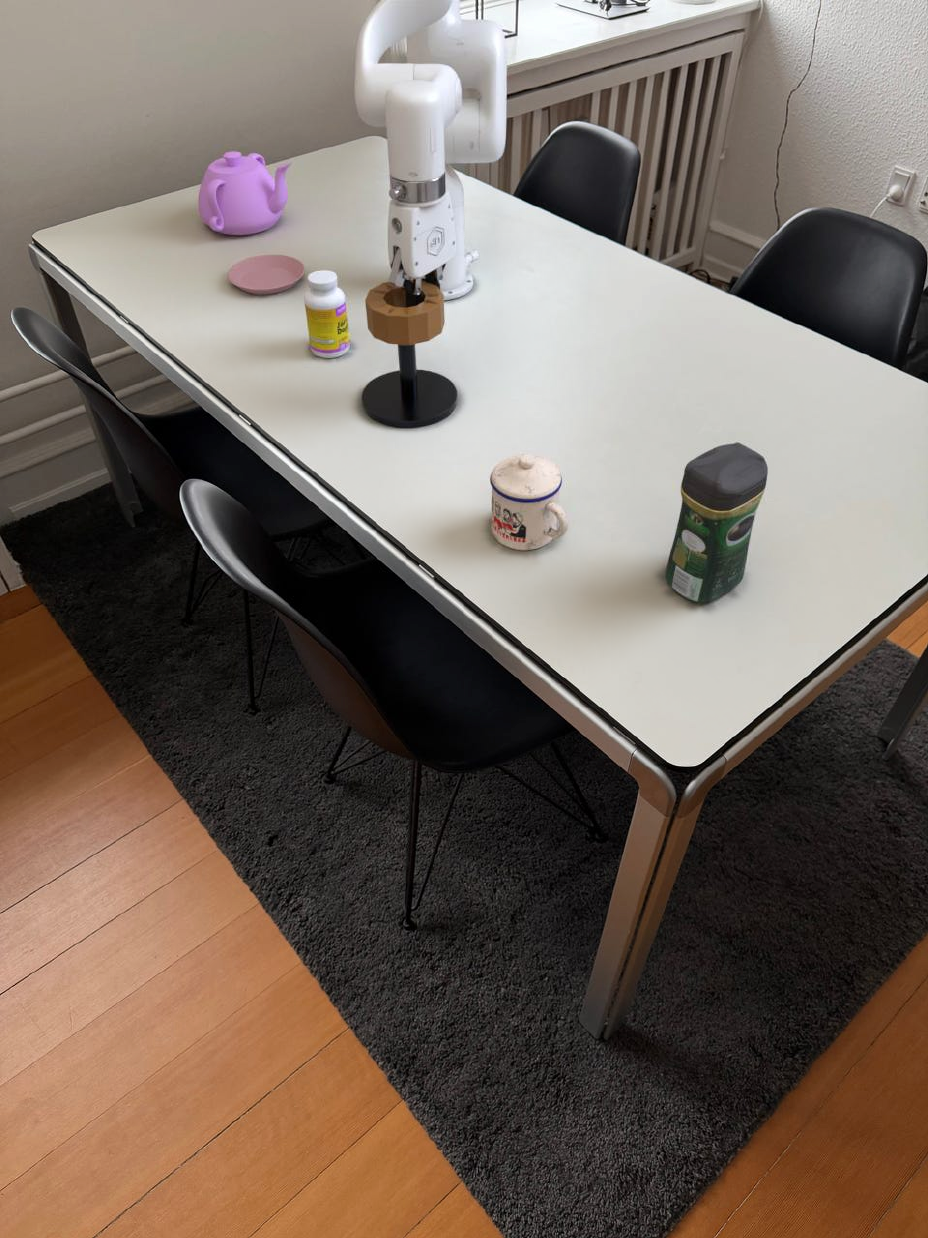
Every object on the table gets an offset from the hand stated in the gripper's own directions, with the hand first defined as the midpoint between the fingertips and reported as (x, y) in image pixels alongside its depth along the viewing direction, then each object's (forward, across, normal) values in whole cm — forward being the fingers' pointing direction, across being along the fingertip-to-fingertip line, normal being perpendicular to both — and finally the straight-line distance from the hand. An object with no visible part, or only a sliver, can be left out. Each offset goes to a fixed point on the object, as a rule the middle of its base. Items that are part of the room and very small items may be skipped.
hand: (423, 310), depth 141 cm
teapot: (+14, +26, +69) cm, 75 cm away
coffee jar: (+13, -14, -56) cm, 59 cm away
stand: (+13, -4, 0) cm, 14 cm away
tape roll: (+1, -4, 0) cm, 4 cm away
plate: (+14, +10, +48) cm, 51 cm away
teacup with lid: (+13, -20, -34) cm, 42 cm away
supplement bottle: (+14, 0, +21) cm, 25 cm away
